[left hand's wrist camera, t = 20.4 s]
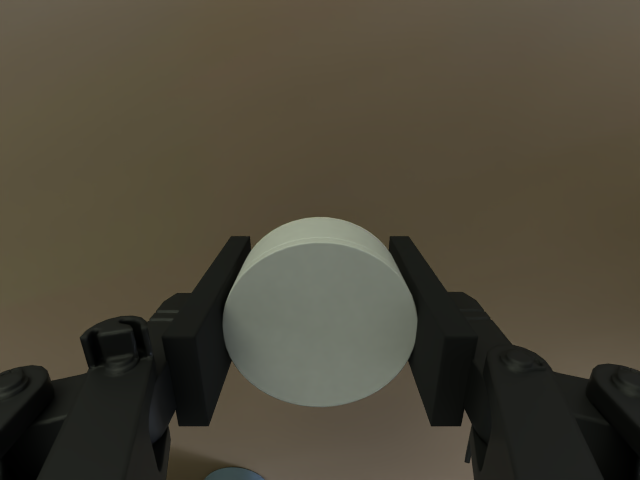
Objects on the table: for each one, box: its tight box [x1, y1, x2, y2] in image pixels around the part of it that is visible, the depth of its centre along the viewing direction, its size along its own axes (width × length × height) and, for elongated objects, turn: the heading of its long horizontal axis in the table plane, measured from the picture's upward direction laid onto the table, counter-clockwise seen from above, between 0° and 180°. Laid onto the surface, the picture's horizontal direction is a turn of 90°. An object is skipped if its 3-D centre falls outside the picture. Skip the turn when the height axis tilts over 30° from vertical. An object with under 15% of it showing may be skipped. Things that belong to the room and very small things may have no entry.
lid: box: [222, 217, 418, 407], centre depth 11 cm, size 6×6×2 cm
